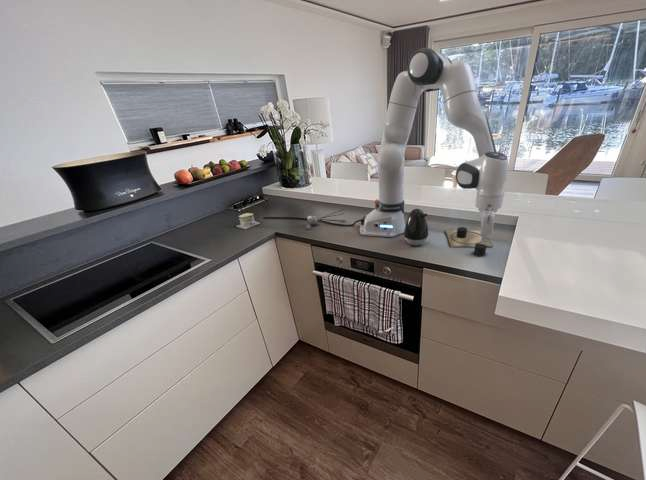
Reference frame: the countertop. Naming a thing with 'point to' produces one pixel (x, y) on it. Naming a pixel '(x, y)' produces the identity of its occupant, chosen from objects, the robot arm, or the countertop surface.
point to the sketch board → (466, 239)
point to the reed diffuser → (319, 219)
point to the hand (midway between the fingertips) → (483, 237)
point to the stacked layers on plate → (247, 221)
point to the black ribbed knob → (461, 232)
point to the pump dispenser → (416, 227)
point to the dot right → (480, 249)
